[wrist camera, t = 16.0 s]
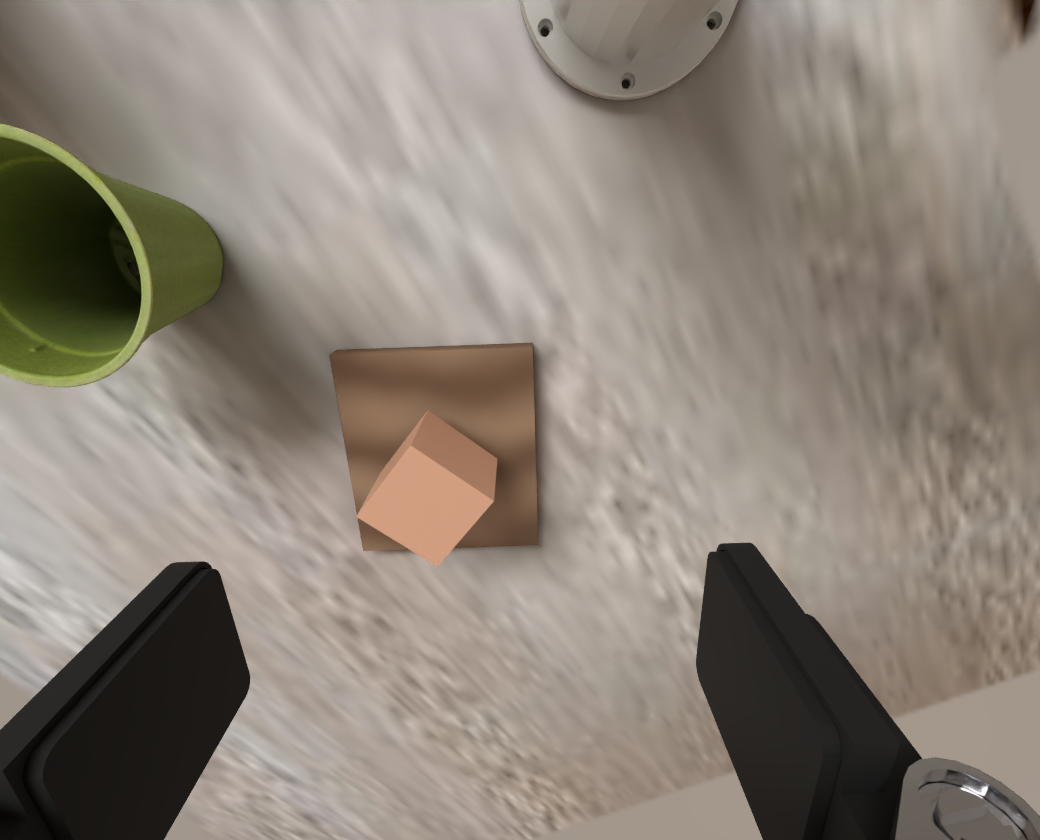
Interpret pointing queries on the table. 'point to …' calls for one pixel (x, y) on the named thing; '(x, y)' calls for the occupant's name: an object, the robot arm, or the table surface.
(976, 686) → the table surface
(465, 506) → the salmon orange cube
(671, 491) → the table surface
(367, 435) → the post board
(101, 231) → the plant pot
